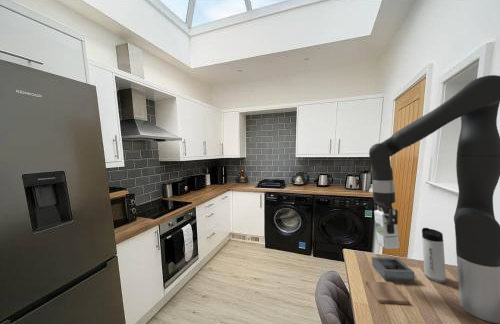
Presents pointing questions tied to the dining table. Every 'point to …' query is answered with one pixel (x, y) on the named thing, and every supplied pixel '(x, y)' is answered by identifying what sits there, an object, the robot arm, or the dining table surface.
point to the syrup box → (385, 232)
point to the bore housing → (393, 275)
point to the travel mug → (433, 255)
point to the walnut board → (387, 292)
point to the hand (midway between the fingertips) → (386, 230)
